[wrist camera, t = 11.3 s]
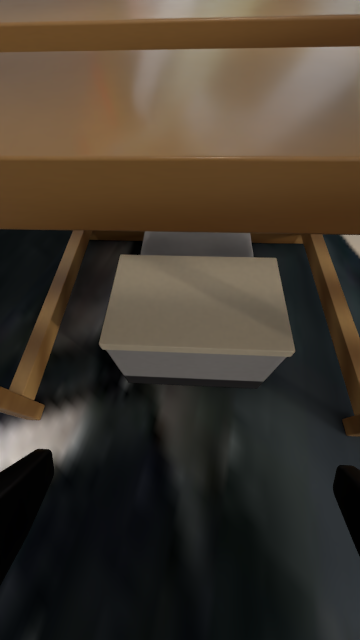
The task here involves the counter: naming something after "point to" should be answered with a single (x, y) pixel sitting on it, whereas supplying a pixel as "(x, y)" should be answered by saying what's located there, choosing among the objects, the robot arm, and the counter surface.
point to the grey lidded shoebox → (197, 312)
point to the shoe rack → (180, 138)
